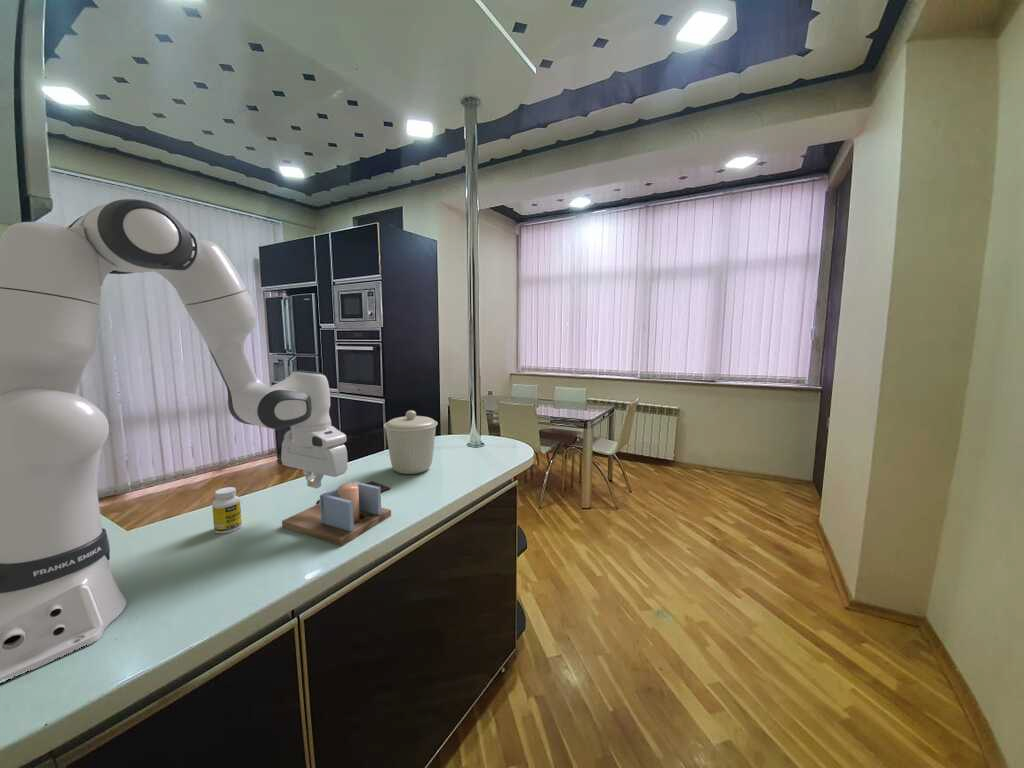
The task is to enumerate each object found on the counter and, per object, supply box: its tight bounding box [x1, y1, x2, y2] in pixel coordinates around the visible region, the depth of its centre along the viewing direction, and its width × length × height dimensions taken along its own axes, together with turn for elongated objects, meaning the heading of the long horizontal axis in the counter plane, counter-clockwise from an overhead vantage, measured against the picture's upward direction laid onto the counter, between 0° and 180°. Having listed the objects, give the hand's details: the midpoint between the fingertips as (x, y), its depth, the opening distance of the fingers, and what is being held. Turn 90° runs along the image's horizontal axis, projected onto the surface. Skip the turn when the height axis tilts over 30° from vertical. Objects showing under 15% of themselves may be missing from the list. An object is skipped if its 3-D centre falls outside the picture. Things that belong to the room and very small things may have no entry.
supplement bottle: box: [211, 486, 243, 534], centre depth 93 cm, size 5×5×10 cm
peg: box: [337, 482, 361, 524], centre depth 95 cm, size 5×5×10 cm
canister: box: [383, 409, 438, 475], centre depth 133 cm, size 18×18×21 cm
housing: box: [319, 480, 382, 531], centre depth 95 cm, size 10×10×7 cm
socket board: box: [281, 503, 392, 547], centre depth 97 cm, size 16×20×2 cm
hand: (314, 486), depth 98 cm, fingers closed
